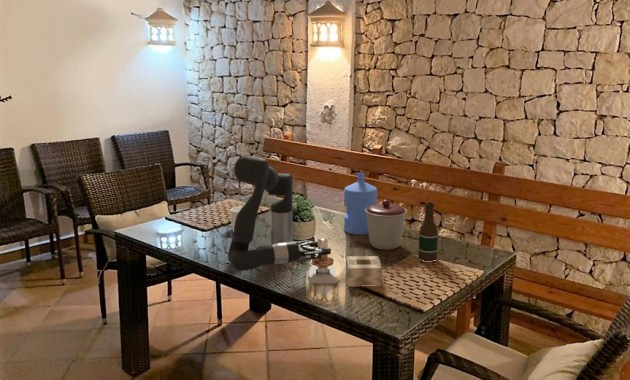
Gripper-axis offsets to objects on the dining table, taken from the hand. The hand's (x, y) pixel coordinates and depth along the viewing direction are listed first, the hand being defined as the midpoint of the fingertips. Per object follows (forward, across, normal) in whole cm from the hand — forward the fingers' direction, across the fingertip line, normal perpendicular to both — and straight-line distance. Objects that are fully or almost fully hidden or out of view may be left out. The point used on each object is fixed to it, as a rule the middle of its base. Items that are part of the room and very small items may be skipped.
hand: (326, 247), depth 198 cm
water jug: (+36, +48, +12) cm, 61 cm away
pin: (-2, 0, +12) cm, 12 cm away
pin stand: (-2, 0, +12) cm, 12 cm away
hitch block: (+12, -7, +12) cm, 18 cm away
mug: (-16, +72, +12) cm, 74 cm away
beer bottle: (+45, +2, +12) cm, 47 cm away
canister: (+37, +23, +12) cm, 45 cm away
